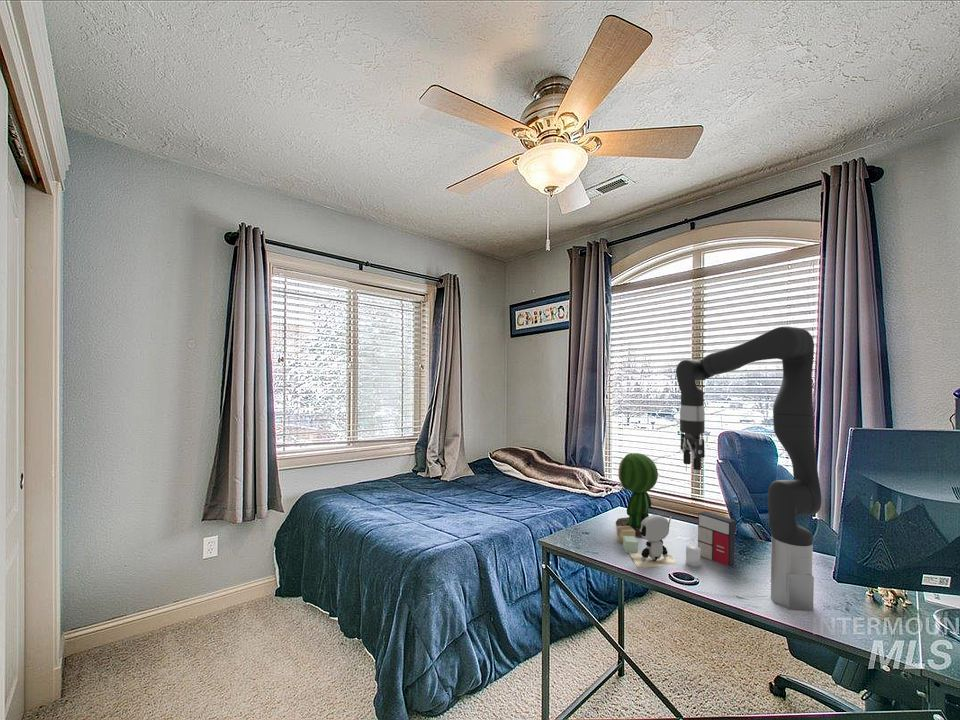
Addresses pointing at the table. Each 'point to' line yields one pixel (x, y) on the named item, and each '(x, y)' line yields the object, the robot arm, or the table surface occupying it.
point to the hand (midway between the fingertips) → (691, 466)
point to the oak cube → (624, 532)
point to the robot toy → (654, 536)
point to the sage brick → (630, 544)
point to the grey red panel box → (716, 537)
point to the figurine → (637, 488)
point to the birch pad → (651, 561)
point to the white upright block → (693, 555)
